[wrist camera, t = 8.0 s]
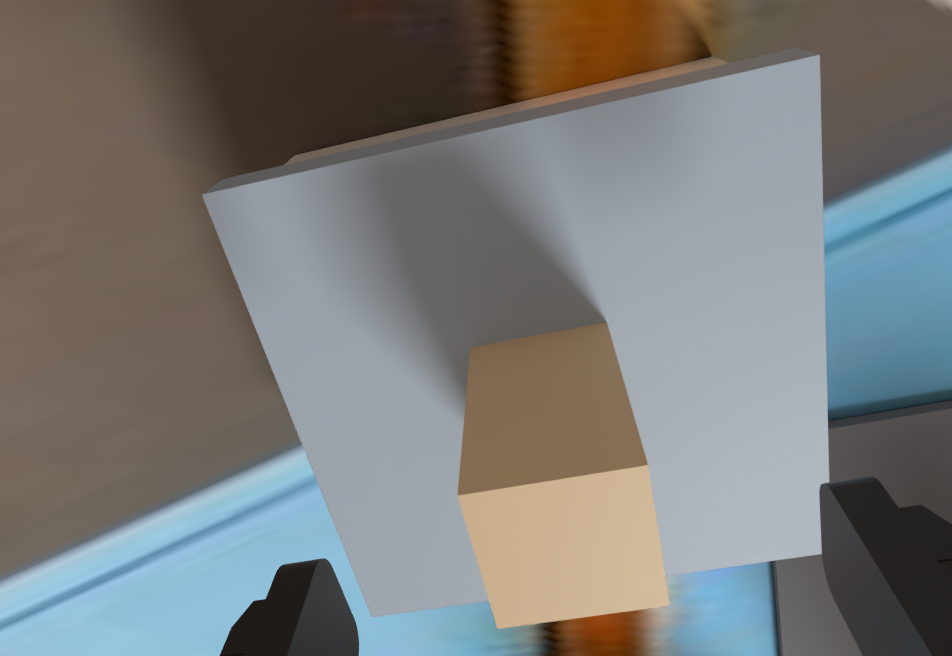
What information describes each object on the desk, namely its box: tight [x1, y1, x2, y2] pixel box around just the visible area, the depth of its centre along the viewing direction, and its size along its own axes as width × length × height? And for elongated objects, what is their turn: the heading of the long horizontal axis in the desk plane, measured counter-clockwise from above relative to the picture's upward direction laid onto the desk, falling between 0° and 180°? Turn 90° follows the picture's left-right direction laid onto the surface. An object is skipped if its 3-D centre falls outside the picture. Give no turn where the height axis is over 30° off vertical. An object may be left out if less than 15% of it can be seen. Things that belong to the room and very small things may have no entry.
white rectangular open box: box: [284, 56, 728, 165], centre depth 19 cm, size 11×11×4 cm
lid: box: [202, 48, 829, 629], centre depth 15 cm, size 12×12×6 cm
